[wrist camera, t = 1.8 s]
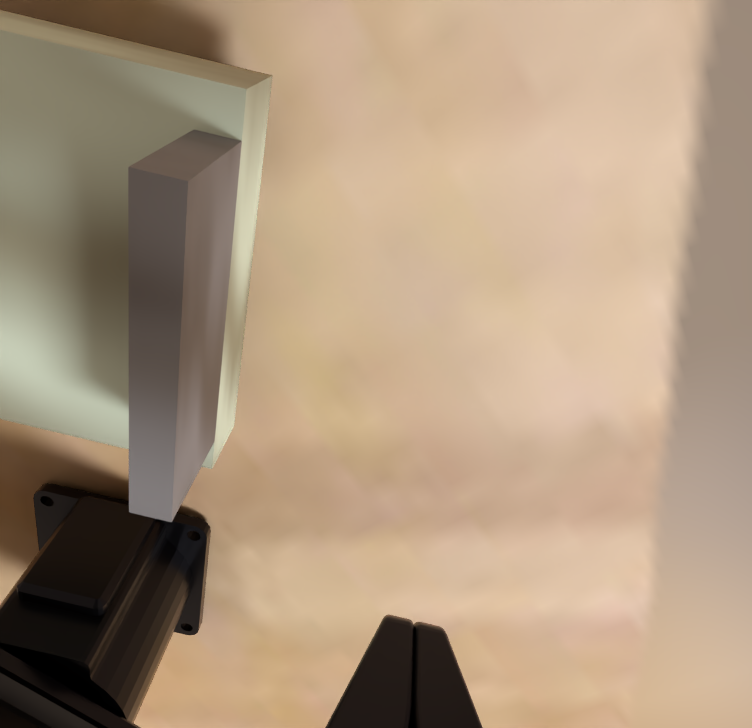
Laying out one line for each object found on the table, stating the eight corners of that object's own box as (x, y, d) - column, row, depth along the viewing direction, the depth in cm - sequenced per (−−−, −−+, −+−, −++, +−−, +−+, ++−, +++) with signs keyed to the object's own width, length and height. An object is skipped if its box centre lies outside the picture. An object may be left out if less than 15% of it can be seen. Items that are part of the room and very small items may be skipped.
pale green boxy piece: (245, 403, 20) (170, 551, 15) (0, 345, 20) (-161, 474, 15) (284, 68, 15) (190, 118, 10) (-45, -12, 15) (-316, -4, 10)
